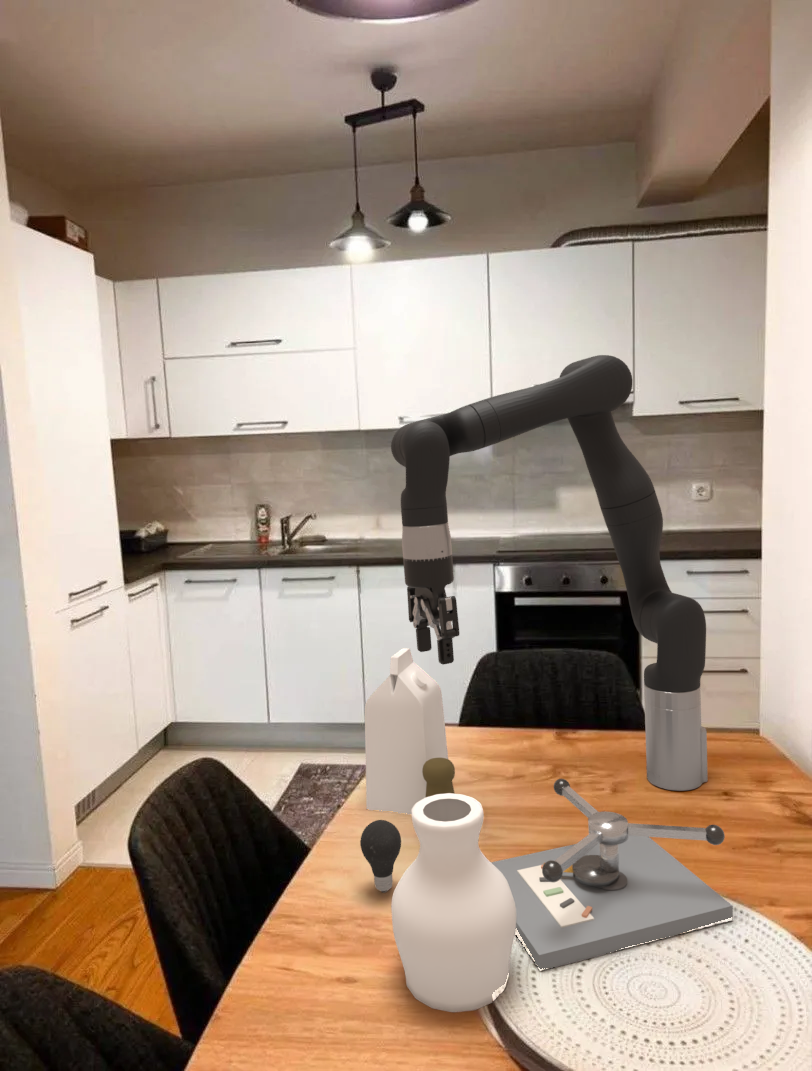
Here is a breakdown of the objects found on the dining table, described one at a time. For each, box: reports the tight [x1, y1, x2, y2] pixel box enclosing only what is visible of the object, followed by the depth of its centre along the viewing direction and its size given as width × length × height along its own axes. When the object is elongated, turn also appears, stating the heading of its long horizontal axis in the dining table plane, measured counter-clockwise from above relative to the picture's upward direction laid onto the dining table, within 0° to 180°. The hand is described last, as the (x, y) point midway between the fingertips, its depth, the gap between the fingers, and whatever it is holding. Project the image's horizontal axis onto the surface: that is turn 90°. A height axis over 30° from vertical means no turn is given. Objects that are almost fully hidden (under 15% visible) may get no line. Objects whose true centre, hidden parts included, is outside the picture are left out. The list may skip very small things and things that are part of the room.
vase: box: [391, 793, 517, 1013], centre depth 85 cm, size 14×14×20 cm
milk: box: [364, 647, 449, 815], centre depth 129 cm, size 12×12×26 cm
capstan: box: [542, 778, 726, 887], centre depth 97 cm, size 23×25×8 cm
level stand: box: [490, 835, 734, 969], centre depth 98 cm, size 26×20×2 cm
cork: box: [422, 758, 456, 797], centre depth 119 cm, size 6×6×11 cm
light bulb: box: [359, 819, 402, 894], centre depth 103 cm, size 6×6×10 cm
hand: (435, 656), depth 116 cm, fingers open, 8 cm apart
